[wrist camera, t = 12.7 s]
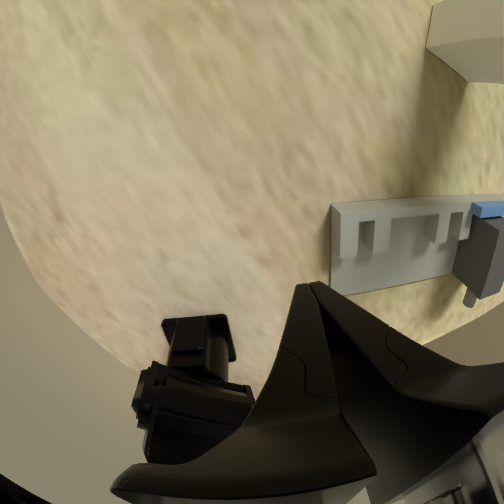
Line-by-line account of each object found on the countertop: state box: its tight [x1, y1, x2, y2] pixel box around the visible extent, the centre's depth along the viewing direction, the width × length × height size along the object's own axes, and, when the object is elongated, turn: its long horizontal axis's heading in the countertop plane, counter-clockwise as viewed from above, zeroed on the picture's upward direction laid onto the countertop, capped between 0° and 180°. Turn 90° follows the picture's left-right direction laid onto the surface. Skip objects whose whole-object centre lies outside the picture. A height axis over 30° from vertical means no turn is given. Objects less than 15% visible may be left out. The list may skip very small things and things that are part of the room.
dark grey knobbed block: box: [452, 214, 504, 308], centre depth 22 cm, size 10×4×6 cm, turn 7°
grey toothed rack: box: [330, 194, 504, 296], centre depth 22 cm, size 9×24×4 cm, turn 97°
